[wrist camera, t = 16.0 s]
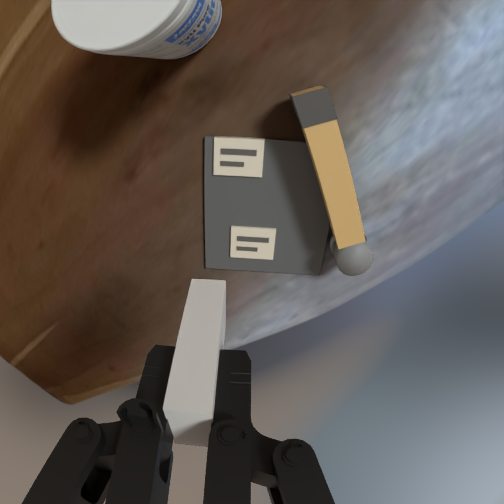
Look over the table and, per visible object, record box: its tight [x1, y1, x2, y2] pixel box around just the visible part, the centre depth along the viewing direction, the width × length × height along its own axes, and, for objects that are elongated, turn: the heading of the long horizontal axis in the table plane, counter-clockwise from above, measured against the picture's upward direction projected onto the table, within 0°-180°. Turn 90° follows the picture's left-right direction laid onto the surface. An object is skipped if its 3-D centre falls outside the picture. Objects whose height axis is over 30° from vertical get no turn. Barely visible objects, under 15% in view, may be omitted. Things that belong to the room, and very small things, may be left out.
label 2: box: [230, 226, 276, 260], centre depth 37 cm, size 5×4×1 cm
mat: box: [204, 136, 330, 275], centre depth 35 cm, size 14×16×1 cm
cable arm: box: [289, 85, 373, 276], centre depth 31 cm, size 20×4×3 cm, turn 20°
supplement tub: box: [51, 0, 222, 59], centre depth 18 cm, size 10×10×15 cm
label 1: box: [214, 136, 265, 177], centre depth 32 cm, size 5×4×1 cm
